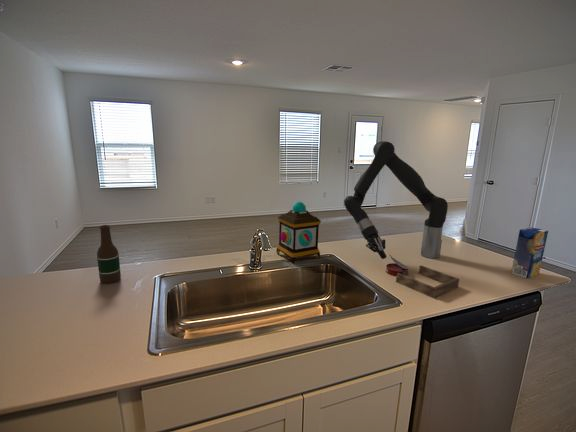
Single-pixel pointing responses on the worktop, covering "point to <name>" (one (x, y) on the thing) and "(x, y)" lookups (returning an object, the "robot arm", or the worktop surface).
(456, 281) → the box
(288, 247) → the decorative lantern
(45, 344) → the worktop surface
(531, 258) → the beverage box
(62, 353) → the worktop surface
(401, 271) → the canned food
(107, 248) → the beer bottle
